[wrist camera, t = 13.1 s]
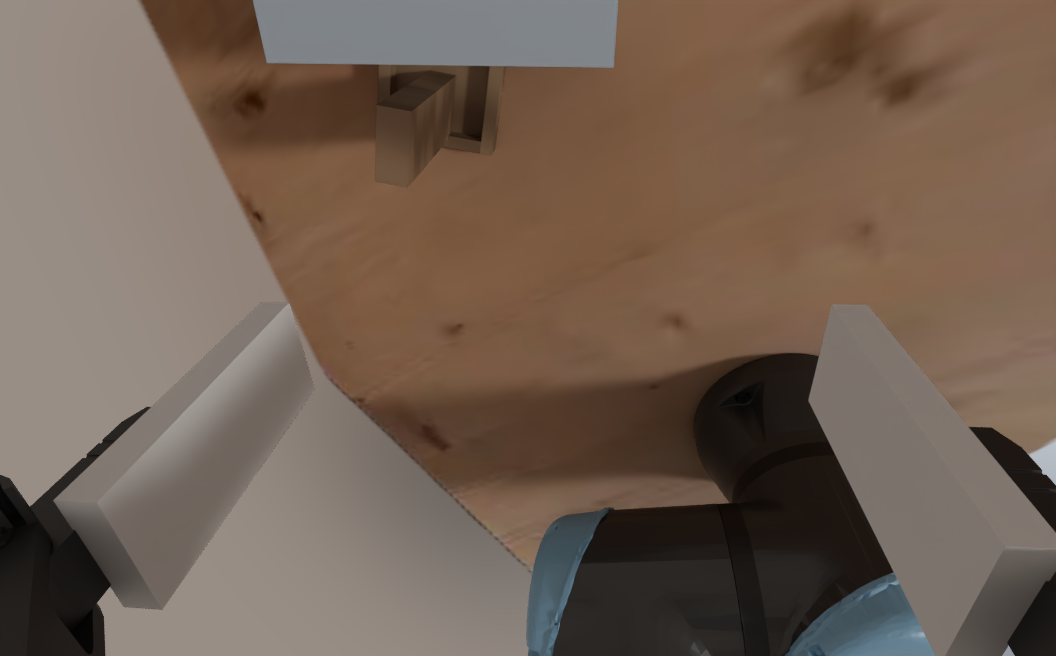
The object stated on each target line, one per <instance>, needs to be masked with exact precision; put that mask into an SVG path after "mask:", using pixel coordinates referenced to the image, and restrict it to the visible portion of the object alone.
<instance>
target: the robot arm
mask: <svg viewBox="0 0 1056 656" xmlns="http://www.w3.org/2000/svg"><path fill="white" fill-rule="evenodd" d="M314 390H315V388H314V384H313V381H312V378H311V375H310V371H309V368H308V365H307V361H306V358H305V354H304V351H303V347H302V344H301V341H300V337H299V334H298V331H297V327H296V324H295V320H294V317H293V314H292V310H291V307H290V304H289V303H274V302H272V303H271V302H270V303H269V302H268V303H267V302H262V303H260V304H259V305H258V306H257V307H256V308H255V309H254V310H253V311H252V312H251V313H249V314H248V315H247V316H246V317H245V318H244V319H243V320H242V321H241V322H240V323H239V324H238V325H237V326H236V327H235V328H234V329H233V330H232V331H230V332H229V333H228V334H227V335H226V336H225V337H224V338H223V339H222V340H221V341H220V342H219V343H218V344H217V345H216V346H215V347H214V348H213V349H212V350H211V351H209V353H208V354H206V355H205V356H204V357H203V358H202V359H201V360H200V361H199V362H198V363H197V364H196V365H195V366H194V367H193V368H192V369H191V370H190V371H189V372H188V373H186V374H185V376H183V377H182V378H181V379H180V380H179V381H178V382H177V383H176V384H175V385H174V386H173V387H172V388H171V389H170V390H169V391H168V392H166V394H164V395H163V396H162V397H161V398H160V399H159V400H158V401H157V402H156V403H155V404H154V405H153V406H152V407H146V408H144V409H143V410H141V411H139V412H138V413H136V414H134V415H133V416H131V417H129V418H128V419H126V420H124V421H123V422H121V423H120V424H119V425H118V426H117V427H116V428H115V429H114V430H113V431H111V433H109V434H108V435H107V436H106V437H105V438H104V439H103V442H102V443H101V444H100V443H99V444H97V445H96V446H95V447H94V448H93V449H92V450H91V451H90V452H89V453H88V454H87V457H86V458H82V459H81V460H80V461H79V462H78V463H77V464H76V465H75V466H74V467H73V468H71V470H69V471H68V472H67V473H66V474H65V475H64V476H63V477H62V478H61V479H60V480H59V481H57V482H56V483H55V484H54V485H53V486H52V487H51V488H50V489H49V490H48V491H47V492H46V493H44V494H43V495H42V496H41V497H40V498H39V499H38V500H37V501H36V502H35V503H34V504H33V505H31V506H30V507H29V505H28V504H27V502H26V501H25V500H24V498H23V497H22V495H21V494H20V492H19V491H18V490H17V488H16V487H15V485H14V484H13V482H12V481H11V480H10V478H7V477H4V476H2V475H0V656H105V635H104V616H103V614H102V611H101V609H100V607H99V606H98V604H97V602H98V601H99V600H100V598H101V597H102V596H103V595H104V593H105V592H106V591H107V590H108V588H109V587H111V588H112V590H113V591H114V593H115V594H116V596H117V597H118V599H119V600H120V602H121V603H122V605H123V606H124V607H131V608H145V609H159V610H162V609H163V608H164V606H165V605H166V603H167V602H168V601H169V599H170V598H171V596H172V595H173V594H174V592H175V591H176V589H177V588H178V586H179V585H180V583H181V582H182V581H183V579H184V578H185V576H186V575H187V573H188V572H189V571H190V569H191V568H192V566H193V565H194V563H195V562H196V560H197V559H198V558H199V556H200V555H201V553H202V551H203V550H204V549H205V547H206V546H207V545H208V543H209V542H210V540H211V539H212V537H213V536H214V534H215V533H216V532H217V530H218V529H219V527H220V526H221V524H222V523H223V521H224V520H225V519H226V517H227V516H228V514H229V513H230V511H231V510H232V509H233V507H234V506H235V504H236V503H237V501H238V500H239V498H240V497H241V496H242V494H243V493H244V491H245V490H246V488H247V487H248V485H249V484H250V482H251V481H252V480H253V478H254V477H255V475H256V474H257V472H258V471H259V470H260V468H261V467H262V465H263V464H264V462H265V461H266V460H267V458H268V457H269V455H270V454H271V452H272V451H273V449H274V448H275V447H276V445H277V444H278V442H279V441H280V439H281V438H282V436H283V435H284V434H285V432H286V431H287V429H288V428H289V426H290V425H291V424H292V422H293V421H294V419H295V418H296V416H297V415H298V413H299V412H300V411H301V409H302V408H303V406H304V405H305V403H306V402H307V400H308V399H309V398H310V396H311V394H312V393H313V392H314ZM694 437H695V441H696V446H697V451H698V455H699V457H700V460H701V462H702V464H703V466H704V468H705V469H706V471H707V472H708V474H709V475H710V476H711V477H712V479H713V480H714V482H715V483H716V485H717V486H718V488H719V489H720V490H721V492H722V493H723V494H724V496H725V497H726V499H727V500H728V501H729V503H726V504H706V505H689V506H672V507H655V508H638V509H621V510H614V508H611V507H608V508H604V509H602V510H601V511H595V512H587V513H578V514H569V515H565V516H562V517H560V518H559V519H557V520H556V521H554V522H553V523H552V524H551V525H550V527H549V528H548V529H547V531H546V533H545V535H544V537H543V539H542V541H541V543H540V546H539V549H538V552H537V556H536V560H535V564H534V569H533V573H532V580H531V585H530V593H529V602H528V614H527V631H526V636H527V637H526V638H527V639H526V640H527V646H528V647H529V651H528V656H1002V655H1003V653H1004V652H1005V650H1006V648H1007V647H1008V645H1009V647H1010V648H1011V650H1012V652H1013V653H1014V655H1015V656H1056V485H1055V484H1054V483H1053V482H1052V481H1051V480H1050V478H1049V477H1048V476H1047V475H1043V474H1042V470H1041V468H1040V467H1039V466H1038V465H1037V464H1036V463H1035V462H1034V461H1033V460H1032V459H1031V458H1030V456H1029V455H1028V454H1027V453H1026V452H1025V451H1024V450H1023V449H1022V447H1020V446H1019V445H1017V444H1015V443H1014V442H1012V441H1011V440H1009V439H1008V438H1006V437H1005V436H1003V435H1002V434H1000V433H999V432H997V431H996V430H994V429H993V428H985V427H968V426H967V425H966V424H965V422H964V421H963V420H962V419H961V418H960V416H959V415H958V414H957V413H956V411H955V410H954V409H953V408H952V407H951V405H950V404H949V403H948V402H947V401H946V399H945V398H944V397H943V396H942V395H941V393H940V392H939V391H938V390H937V388H936V387H935V386H934V385H933V384H932V382H931V381H930V380H929V379H928V378H927V376H926V375H925V374H924V373H923V372H922V370H921V369H920V368H919V367H918V365H917V364H916V363H915V362H914V361H913V359H912V358H911V357H910V356H909V355H908V353H907V352H906V351H905V350H904V349H903V347H902V346H901V345H900V344H899V343H898V341H897V340H896V339H895V338H894V336H893V335H892V334H891V333H890V332H889V330H888V329H887V328H886V327H885V326H884V324H883V323H882V322H881V321H880V320H879V318H878V317H877V316H876V315H875V313H874V312H873V311H872V310H871V309H870V307H869V306H868V305H831V310H830V314H829V318H828V322H827V326H826V330H825V334H824V338H823V342H822V346H821V351H820V355H819V357H818V356H812V355H803V354H787V355H778V356H772V357H767V358H763V359H759V360H756V361H753V362H750V363H748V364H745V365H743V366H741V367H739V368H737V369H735V370H733V371H732V372H730V373H728V374H727V375H725V376H724V377H723V378H721V379H720V380H719V381H718V382H717V383H715V384H714V385H713V386H712V387H711V388H710V390H709V391H708V392H707V393H706V394H705V396H704V397H703V399H702V400H701V402H700V404H699V406H698V408H697V411H696V414H695V418H694Z"/></svg>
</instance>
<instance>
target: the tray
mask: <svg viewBox="0 0 1056 656" xmlns="http://www.w3.org/2000/svg"><path fill="white" fill-rule="evenodd" d="M505 68H506V66H458V65H381V64H379V78H378V104H377V105H376V152H375V181H376V182H381V183H386V184H391V185H397V186H402V187H407V188H408V187H409V185H410V184H411V183H412V182H413V181H414V180H415V178H416V177H417V176H418V175H419V174H420V172H421V171H422V170H423V169H424V168H425V166H426V165H427V164H428V163H429V162H430V161H431V159H432V158H433V157H434V156H435V155H436V153H437V152H438V151H439V150H440V149H441V147H442V146H443V147H448V148H453V149H459V150H464V151H469V152H474V153H479V154H485V155H490V156H491V155H492V153H493V152H494V150H495V145H496V138H497V130H498V122H499V114H500V107H501V99H502V91H503V83H504V76H505Z"/></svg>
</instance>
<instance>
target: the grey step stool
mask: <svg viewBox="0 0 1056 656" xmlns="http://www.w3.org/2000/svg"><path fill="white" fill-rule="evenodd" d="M253 3H254V7H255V12H256V16H257V21H258V25H259V30H260V34H261V39H262V43H263V48H264V52H265V57H266V61H267V63H305V64H381V65H458V66H535V67H612V68H614V54H615V40H616V26H617V12H618V0H253Z"/></svg>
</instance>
